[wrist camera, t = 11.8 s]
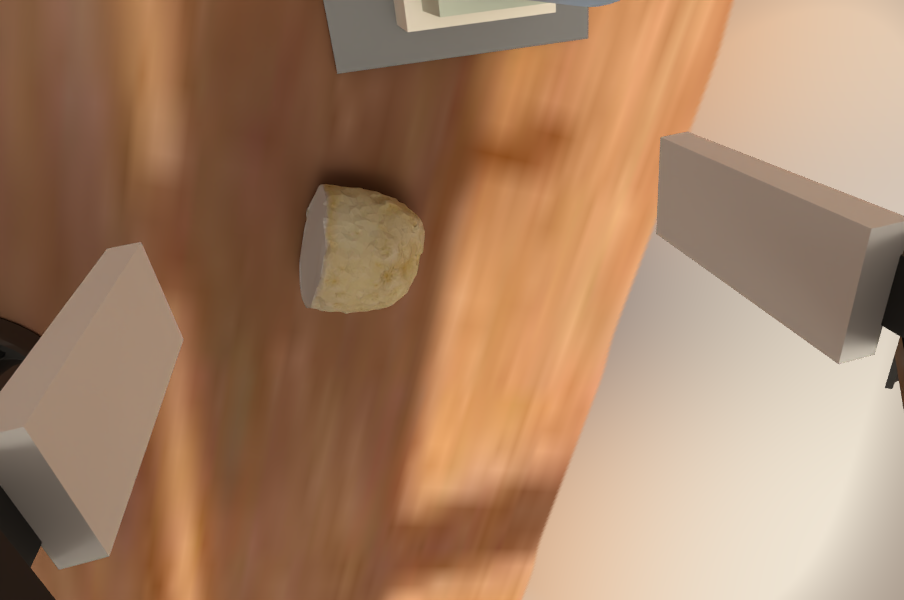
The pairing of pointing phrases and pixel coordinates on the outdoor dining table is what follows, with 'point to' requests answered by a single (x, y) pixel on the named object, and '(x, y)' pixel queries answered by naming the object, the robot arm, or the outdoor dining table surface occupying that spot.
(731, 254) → the robot arm
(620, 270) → the outdoor dining table surface
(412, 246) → the beige rounded lump
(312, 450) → the outdoor dining table surface
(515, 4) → the tower top
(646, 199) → the outdoor dining table surface
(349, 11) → the mat
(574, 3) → the grey rounded cylinder
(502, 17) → the tower base
